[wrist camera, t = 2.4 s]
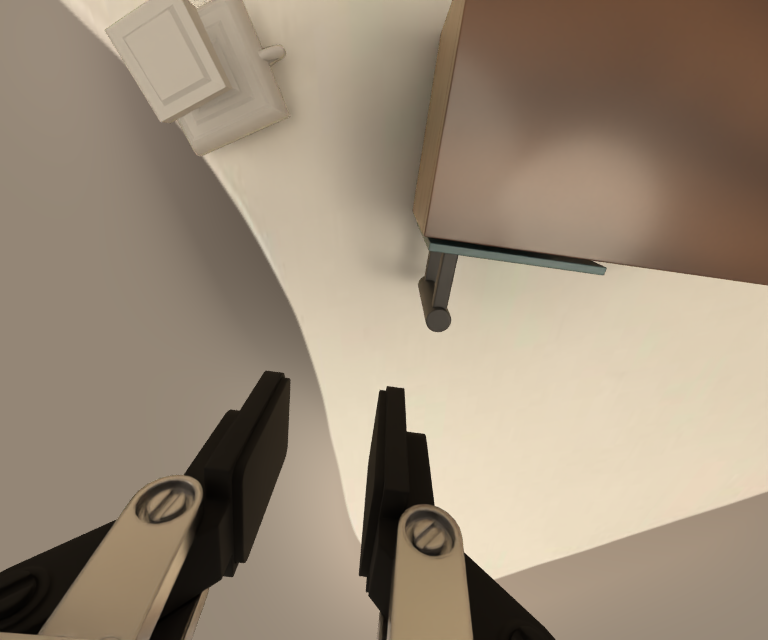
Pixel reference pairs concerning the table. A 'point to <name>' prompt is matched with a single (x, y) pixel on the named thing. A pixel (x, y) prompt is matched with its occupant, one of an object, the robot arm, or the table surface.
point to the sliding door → (447, 251)
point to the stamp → (202, 69)
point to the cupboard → (603, 132)
